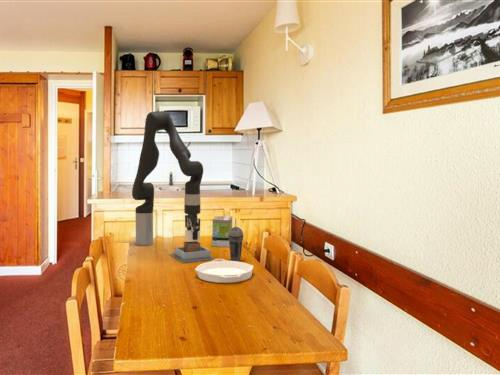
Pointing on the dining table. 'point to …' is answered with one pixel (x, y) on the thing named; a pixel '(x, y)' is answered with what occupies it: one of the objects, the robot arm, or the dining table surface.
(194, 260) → the grey shallow box
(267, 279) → the dining table surface
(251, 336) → the dining table surface
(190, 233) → the cream block
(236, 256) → the beverage cup
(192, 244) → the walnut block
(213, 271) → the pan
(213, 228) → the tea box
